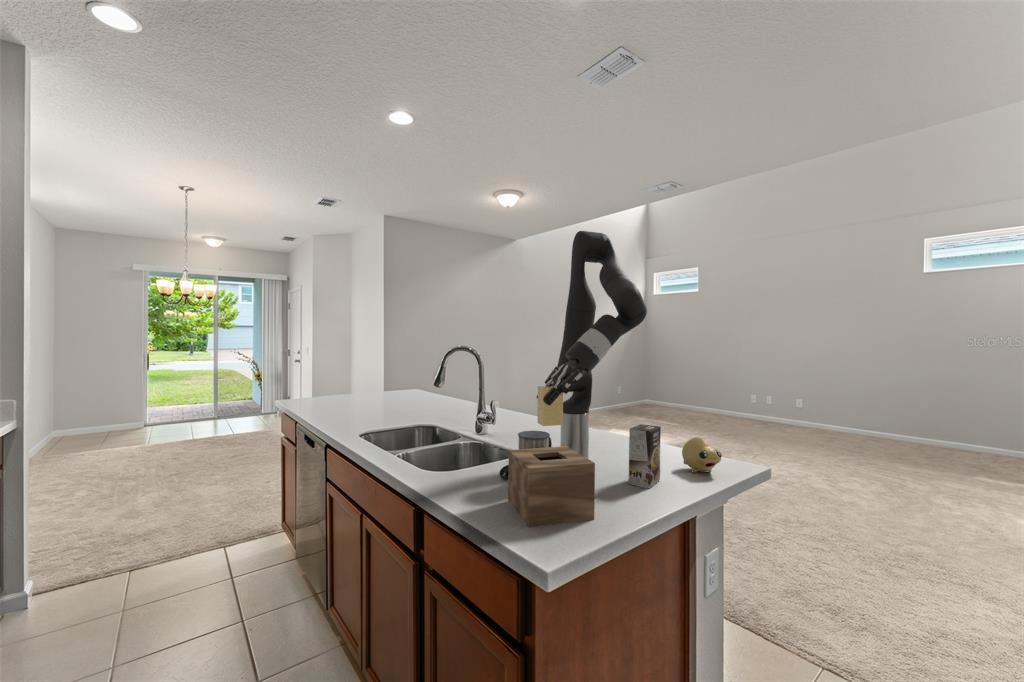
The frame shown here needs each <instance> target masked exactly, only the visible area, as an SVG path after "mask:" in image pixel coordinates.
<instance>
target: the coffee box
mask: <svg viewBox="0 0 1024 682" xmlns="http://www.w3.org/2000/svg"><path fill="white" fill-rule="evenodd" d="M661 429H662V428H661V426H657V425H650V424H649V425H648V424H638V425H635V426H633V427H631V428H629V439H628V440H629V441H628V442H629V443H628V447H629V448H628V485H630V484H631V486H634V485H636V486H635V487H639V486H640V487H639V488H643V487H645V488H644V489H647V488H650V489H651V488H652V487H654V486H655V485H656V484H658V483H659V482H660V481H661V435H662V434H661ZM659 480H660V481H659ZM658 481H659V482H658ZM657 482H658V483H657ZM654 484H655V485H654ZM653 485H654V486H653Z"/></svg>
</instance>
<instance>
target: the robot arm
mask: <svg viewBox="0 0 1024 682" xmlns="http://www.w3.org/2000/svg"><path fill="white" fill-rule="evenodd" d="M586 263H594V264H598V263H599V264H600V265H602V267H601V268H600V269H599V270H600V271H599V275H598V276H599V277H598V278H599V279H598V280H599V282H600V285H601V286H602V289H603V290H604V292H605V293H606V295H607V296H608V297H609V298H610V299H611V301H612V302H611V303H613V306H614V307H615V310H616V312H617V316H616V317H615V316H613V315H611V314H606V313H605V314H603V315H601V316H600V317H599V318H598V319H597V320H596V321H595V318H596V312H597V311H596V310H597V304H596V300H595V297H594V295H593V293H592V291H591V289H590V286H589V285H588V281H587V277H586V270H585V268H586ZM570 264H571V265H570V280H569V281H570V282H569V289H568V298H567V301H566V302H567V303H566V311H565V316H564V317H565V320H564V329H563V336H562V342H561V348H560V352H559V357H558V361H557V366H555V367H554V368H553V369H552V371H551V372H550V373H549V375H548V377H547V378H546V380H545V381H544V384H545V386H554V388H552V390H551V391H550V392H549V393H548V394H547V395H546V396H545V397H544V398H543V401H544V402H545V403H546V404H547V405H551V404H552V403H553V402H554V401H555V400H556V398H557V397H558V396H559V394H560V395H562V394H563V395H564V394H565V395H567V394H569V393H572V394H571V396H570V397H569V398H568V399H566V400H565V401H564V400H563V425H560V441H559V444H560V445H559V447H561V446H567V447H569V448H570V449H572V450H574V451H576V452H577V453H579V454H581V455H582V456H584V457H586V458H587V459H589V454H590V453H589V452H590V451H589V448H590V446H589V444H590V442H589V441H590V435H589V434H590V432H589V431H590V427H589V426H590V422H589V421H590V408H591V404H592V395H593V394H592V393H593V392H592V391H593V373H592V370H594V369H595V368H596V366H597V365H598V364H599V363H600V362H601V361H602V360H603V358H604V357H605V356H606V355H607V353H609V351H610V349H611V348H612V347H613V346H614V344H615V343H617V341H618V340H619V339H620V338H621V337H622V336H623V335H625V334H628V332H630V331H631V330H633V329H635V328H636V327H638V326H640V325H641V324H642V323H643V321H644V320H645V318H646V317H647V313H648V310H647V309H648V308H647V306H646V303H645V300H644V298H643V296H642V294H641V292H640V289H639V288H638V287H637V286H636V284H635V283H633V281H631V280H630V278H629V277H628V275H627V274H626V272H625V271H624V270H623V268H622V267H621V264H620V262H619V259H618V256H617V253H616V250H615V248H614V245H613V243H612V240H611V238H610V237H609V236H608V235H607V234H605V233H603V232H595V231H588V230H587V231H586V230H579V231H576V233H575V235H574V237H573V241H572V248H571V262H570ZM536 399H537V400H538V394H537V395H536Z"/></svg>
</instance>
